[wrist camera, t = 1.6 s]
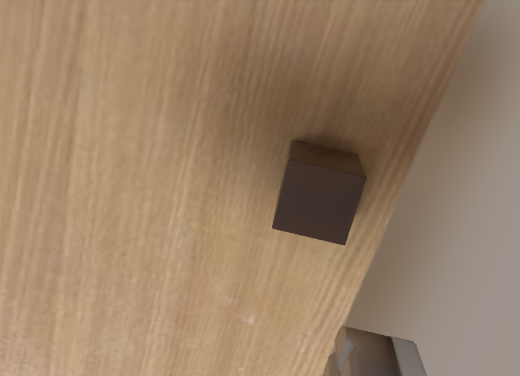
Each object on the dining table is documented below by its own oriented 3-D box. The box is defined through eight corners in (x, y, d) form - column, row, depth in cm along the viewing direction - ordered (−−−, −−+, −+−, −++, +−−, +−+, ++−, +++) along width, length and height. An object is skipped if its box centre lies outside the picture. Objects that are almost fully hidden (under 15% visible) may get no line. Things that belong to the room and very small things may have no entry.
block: (291, 139, 25) (288, 159, 21) (358, 154, 25) (367, 177, 21) (276, 200, 26) (271, 228, 23) (339, 214, 26) (345, 246, 22)
